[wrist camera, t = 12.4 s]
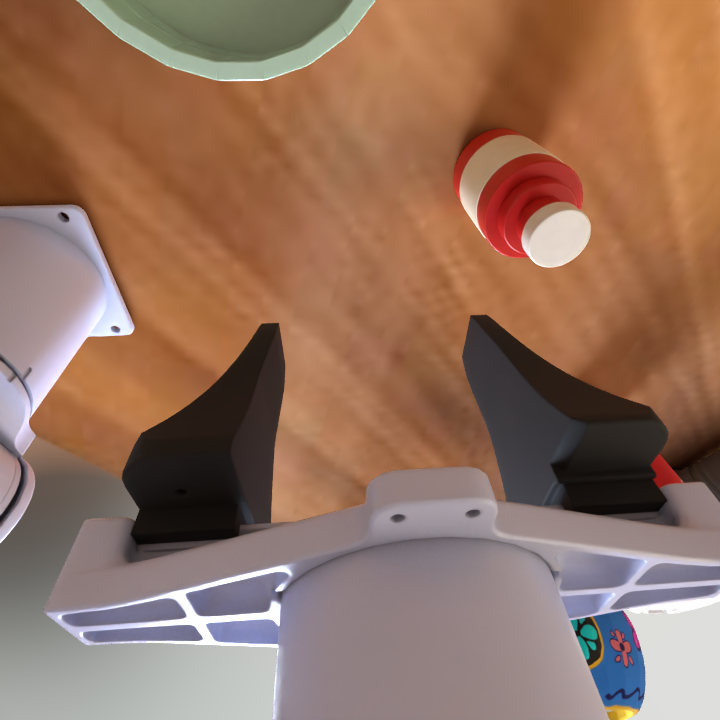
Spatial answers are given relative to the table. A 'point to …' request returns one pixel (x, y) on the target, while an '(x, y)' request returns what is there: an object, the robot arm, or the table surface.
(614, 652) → the ceramic pot
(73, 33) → the table surface
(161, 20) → the pan
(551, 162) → the sauce bottle
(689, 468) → the flashlight
